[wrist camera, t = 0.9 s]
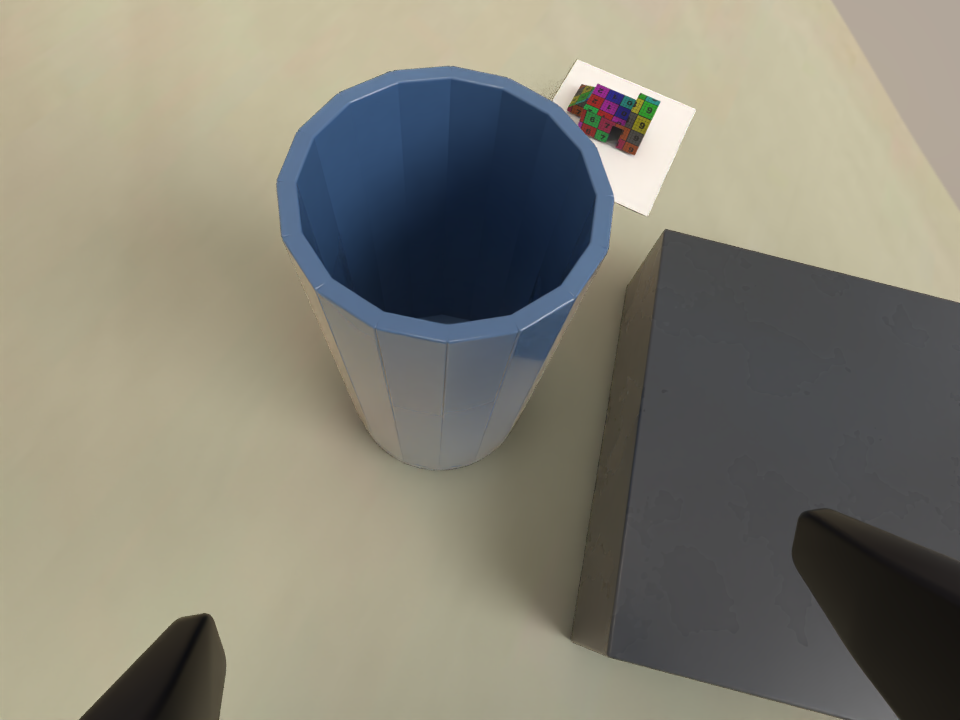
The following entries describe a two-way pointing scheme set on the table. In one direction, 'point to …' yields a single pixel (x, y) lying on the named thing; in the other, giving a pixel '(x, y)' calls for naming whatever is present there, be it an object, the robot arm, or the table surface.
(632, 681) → the table surface
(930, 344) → the grey base
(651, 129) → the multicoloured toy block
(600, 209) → the cup
